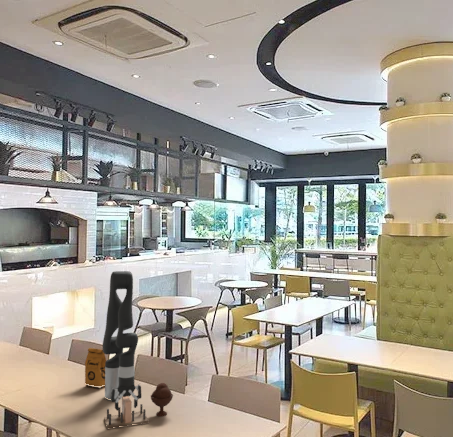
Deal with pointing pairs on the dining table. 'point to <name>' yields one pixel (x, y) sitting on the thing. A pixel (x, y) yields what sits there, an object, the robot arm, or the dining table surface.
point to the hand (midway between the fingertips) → (126, 408)
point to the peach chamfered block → (126, 409)
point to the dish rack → (119, 421)
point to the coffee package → (95, 367)
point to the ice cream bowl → (161, 398)
